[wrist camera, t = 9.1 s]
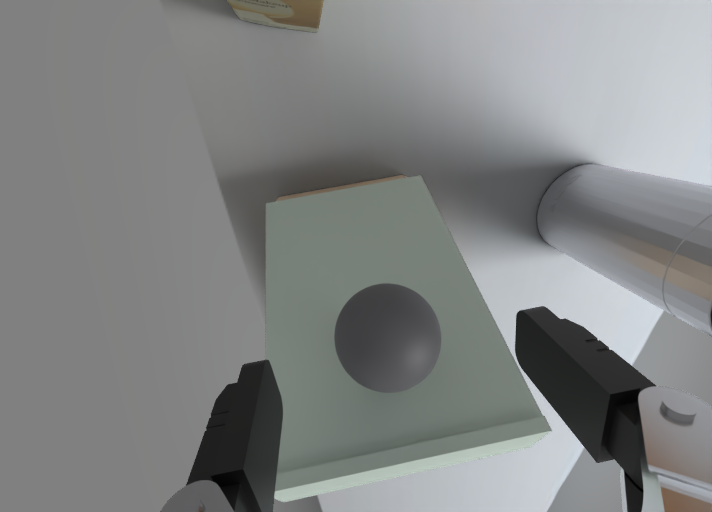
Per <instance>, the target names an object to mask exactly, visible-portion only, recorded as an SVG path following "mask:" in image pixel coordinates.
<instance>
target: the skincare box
mask: <svg viewBox="0 0 712 512" xmlns="http://www.w3.org/2000/svg"><path fill="white" fill-rule="evenodd" d="M227 1H228V2H229V4H230V5H231V7H232V9H233V10H234V11H235V13H236V14H237V16H238V17H239V19H241V20H244V21H248V22H253V23H258V24H263V25H268V26H273V27H279V28H285V29H293V30H300V31H308V32H318V28H319V23H320V17H321V12H322V7H323V1H324V0H227Z"/></svg>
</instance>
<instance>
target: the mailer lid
mask: <svg viewBox="0 0 712 512" xmlns="http://www.w3.org/2000/svg"><path fill="white" fill-rule="evenodd" d="M265 344H266V345H265V348H266V350H265V360H269V362H270V364H271V367H272V370H273V373H274V376H275V379H276V382H277V385H278V388H279V391H280V394H281V398H282V404H283V421H282V430H281V439H280V448H279V458H278V467H277V476H276V485H275V494H274V498H275V499H277V500H279V501H282V502H286V501H291V500H296V499H300V498H305V497H309V496H314V495H318V494H323V493H328V492H332V491H337V490H341V489H346V488H350V487H355V486H359V485H364V484H368V483H373V482H377V481H382V480H386V479H391V478H395V477H400V476H404V475H409V474H413V473H418V472H422V471H427V470H431V469H436V468H440V467H445V466H449V465H454V464H458V463H463V462H467V461H472V460H476V459H481V458H485V457H490V456H494V455H499V454H503V453H508V452H512V451H517V450H521V449H526V448H530V447H531V446H533V445H534V444H535V443H536V442H538V441H539V440H540V439H542V438H543V437H544V436H545V435H547V434H548V433H549V432H551V431H552V430H551V428H550V426H549V424H548V422H547V420H546V418H545V416H543V415H542V413H541V411H540V409H539V407H538V405H537V403H536V401H535V399H534V397H533V395H532V393H531V392H530V390H529V388H528V386H527V384H526V382H525V380H524V378H523V376H522V374H521V372H520V370H519V368H518V366H517V364H516V362H515V360H514V358H513V356H512V354H511V352H510V350H509V348H508V346H507V344H506V342H505V340H504V338H503V336H502V334H501V332H500V330H499V328H498V326H497V324H496V322H495V320H494V318H493V316H492V314H491V312H490V311H489V309H488V307H487V305H486V303H485V301H484V299H483V297H482V295H481V293H480V291H479V289H478V287H477V285H476V283H475V281H474V279H473V277H472V275H471V273H470V271H469V269H468V267H467V265H466V263H465V261H464V259H463V257H462V255H461V253H460V251H459V249H458V247H457V245H456V243H455V241H454V239H453V237H452V235H451V233H450V231H449V230H448V228H447V226H446V224H445V222H444V220H443V218H442V216H441V214H440V212H439V210H438V208H437V206H436V204H435V202H434V200H433V198H432V196H431V194H430V192H429V190H428V188H427V186H426V184H425V182H424V180H423V178H422V176H421V175H418V176H413V177H407V178H402V179H396V180H391V181H385V182H380V183H374V184H369V185H363V186H358V187H352V188H347V189H341V190H336V191H330V192H325V193H319V194H314V195H308V196H303V197H297V198H292V199H286V200H281V201H275V202H270V203H266V342H265Z"/></svg>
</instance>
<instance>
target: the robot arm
mask: <svg viewBox="0 0 712 512" xmlns="http://www.w3.org/2000/svg"><path fill="white" fill-rule="evenodd" d="M537 224H538V229H539V232H540V234H541V236H542V238H543V239H544V240H545V241H546V242H547V243H548V244H549V245H551V246H553V247H554V248H556V249H558V250H559V251H561V252H563V253H565V254H566V255H568V256H570V257H572V258H573V259H575V260H577V261H578V262H580V263H582V264H584V265H585V266H587V267H589V268H591V269H592V270H594V271H596V272H598V273H599V274H601V275H603V276H605V277H607V278H608V279H610V280H612V281H614V282H615V283H617V284H619V285H621V286H622V287H624V288H626V289H628V290H629V291H631V292H633V293H635V294H636V295H638V296H640V297H642V298H643V299H645V300H647V301H649V302H651V303H652V304H654V305H656V306H658V307H659V308H661V309H663V310H665V311H666V312H668V313H670V314H672V315H673V316H675V317H677V318H679V319H681V320H683V321H684V322H686V323H688V324H690V325H692V326H693V327H695V328H697V329H699V330H700V331H702V332H704V333H706V334H707V335H709V336H711V337H712V186H708V185H702V184H697V183H692V182H687V181H681V180H676V179H671V178H666V177H660V176H655V175H650V174H645V173H639V172H634V171H630V170H625V169H619V168H614V167H609V166H603V165H597V164H586V165H581V166H578V167H575V168H572V169H571V170H569V171H567V172H565V173H564V174H562V175H561V176H560V177H559V178H557V179H556V180H555V181H554V182H553V183H552V185H551V186H550V187H549V188H548V190H547V191H546V193H545V194H544V196H543V198H542V200H541V203H540V205H539V210H538V214H537ZM515 352H516V357H517V360H518V362H519V364H520V366H521V368H522V369H523V371H524V372H525V373H526V374H527V376H528V377H529V378H530V379H531V381H532V382H533V383H534V384H535V386H536V387H537V388H538V389H539V391H540V392H541V393H542V394H543V396H544V397H545V398H546V400H547V401H548V402H549V403H550V405H551V406H552V407H553V408H554V410H555V411H556V412H557V413H558V415H559V416H560V417H561V418H562V420H563V421H564V422H565V423H566V425H567V426H568V427H569V428H570V430H571V431H572V432H573V433H574V435H575V436H576V437H577V438H578V440H579V441H580V442H581V443H582V445H583V446H584V447H585V448H586V449H587V451H588V452H589V453H590V455H591V456H592V457H593V458H594V460H595V461H596V462H597V463H599V462H604V461H608V460H613V459H615V460H616V461H617V463H618V464H619V465H620V466H621V467H622V468H621V472H620V481H621V495H622V508H623V512H712V407H711V406H710V405H708V404H707V403H706V402H704V401H703V400H701V399H699V398H698V397H695V396H694V395H692V394H689V393H687V392H684V391H682V390H678V389H675V388H670V387H663V386H656V385H655V384H653V383H652V382H651V381H650V380H648V379H647V378H646V377H645V376H643V375H642V374H641V373H639V372H638V371H637V370H636V369H635V368H634V367H632V366H631V365H630V364H629V363H627V362H626V361H625V360H624V359H622V358H621V357H620V356H619V355H617V354H616V353H615V352H614V351H612V350H609V347H608V346H606V345H605V344H604V343H603V342H601V341H600V340H599V341H598V340H597V338H596V337H595V336H594V335H593V334H591V333H590V332H589V331H588V330H586V329H585V328H584V327H582V326H580V325H578V324H576V323H574V322H571V321H569V320H567V319H559V318H558V317H557V316H556V315H555V314H553V313H552V312H551V311H550V310H549V309H548V308H546V307H544V306H541V307H536V308H531V309H526V310H521V311H519V312H518V313H517V317H516V342H515ZM282 421H283V404H282V398H281V394H280V391H279V388H278V385H277V382H276V379H275V376H274V373H273V370H272V367H271V364H270V362H269V360H263V361H257V362H252V363H247V364H244V365H243V366H242V368H241V372H240V375H239V378H238V382H237V383H233V384H228V385H227V386H226V387H225V389H224V390H223V391H222V393H221V394H220V395H219V396H218V398H217V399H216V401H215V404H214V407H213V410H212V413H211V418H209V421H208V425H207V427H206V429H207V431H205V433H204V436H203V439H202V442H201V445H200V448H199V450H198V453H197V456H196V459H195V462H194V465H193V467H192V470H191V473H190V476H189V479H188V482H187V484H186V486H185V487H184V488H182V489H181V490H179V491H178V492H177V493H175V494H174V495H173V496H172V497H171V498H170V499H169V500H168V501H167V503H166V504H165V505H164V507H163V508H162V510H161V511H160V512H273V504H274V494H275V485H276V476H277V467H278V458H279V448H280V439H281V430H282Z"/></svg>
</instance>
